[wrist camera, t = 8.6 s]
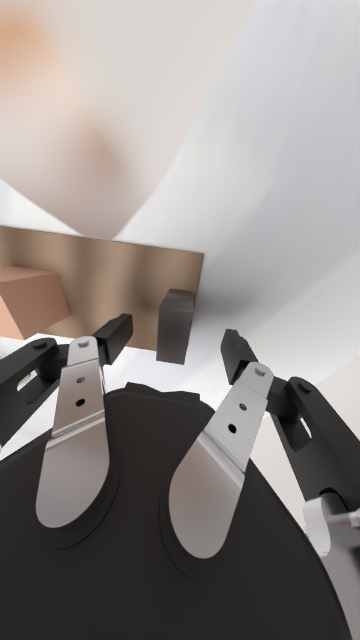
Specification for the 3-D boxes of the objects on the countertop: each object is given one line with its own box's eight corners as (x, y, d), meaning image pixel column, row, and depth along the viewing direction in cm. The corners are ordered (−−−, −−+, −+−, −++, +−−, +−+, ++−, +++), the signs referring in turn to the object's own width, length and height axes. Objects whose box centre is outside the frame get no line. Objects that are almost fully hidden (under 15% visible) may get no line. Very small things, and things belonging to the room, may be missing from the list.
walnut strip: (202, 253, 13) (209, 256, 8) (185, 351, 18) (182, 390, 13) (-41, 220, 13) (-189, 202, 8) (15, 325, 19) (-51, 353, 14)
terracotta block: (57, 272, 14) (-7, 283, 10) (70, 315, 16) (24, 340, 12) (10, 265, 14) (-73, 273, 10) (30, 309, 16) (-30, 331, 12)
